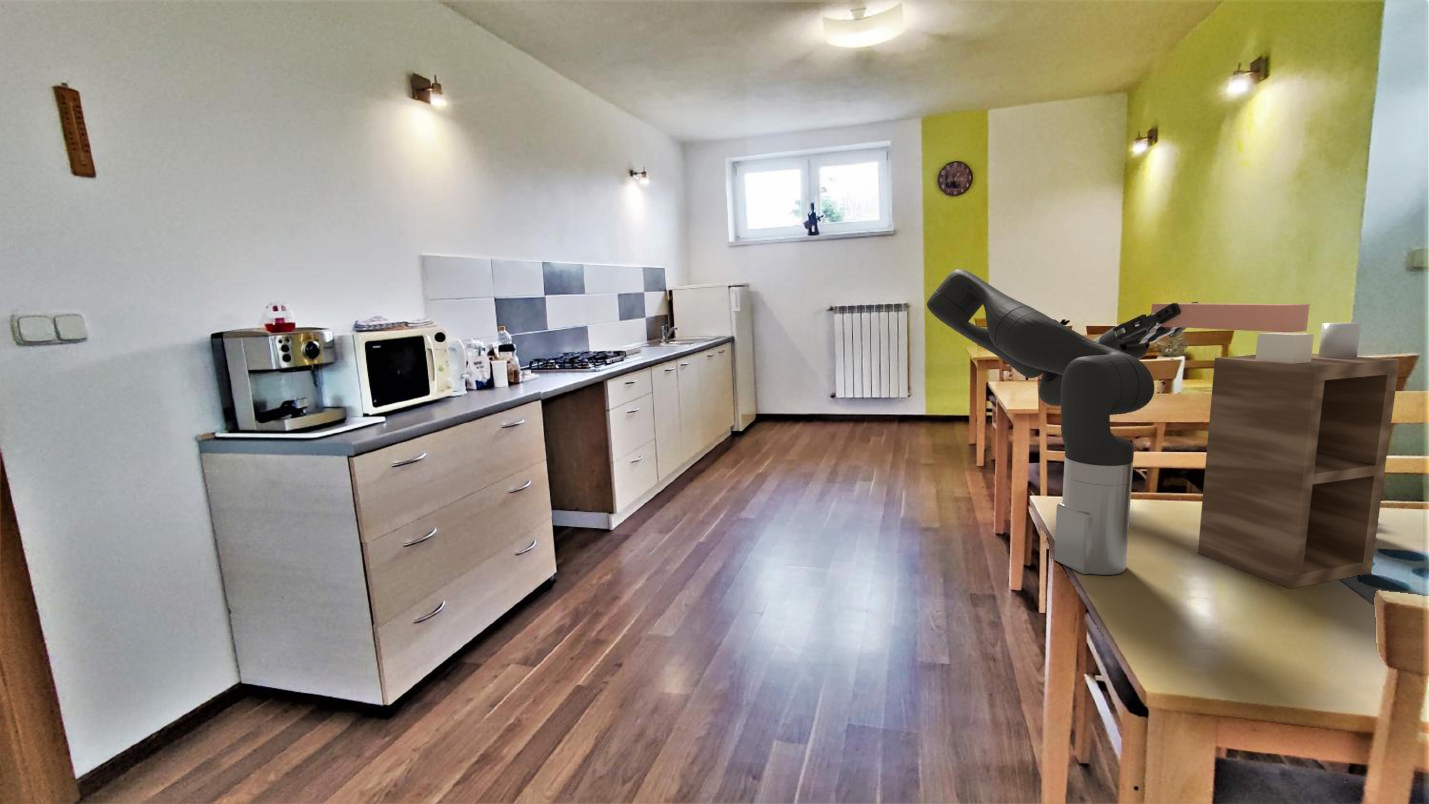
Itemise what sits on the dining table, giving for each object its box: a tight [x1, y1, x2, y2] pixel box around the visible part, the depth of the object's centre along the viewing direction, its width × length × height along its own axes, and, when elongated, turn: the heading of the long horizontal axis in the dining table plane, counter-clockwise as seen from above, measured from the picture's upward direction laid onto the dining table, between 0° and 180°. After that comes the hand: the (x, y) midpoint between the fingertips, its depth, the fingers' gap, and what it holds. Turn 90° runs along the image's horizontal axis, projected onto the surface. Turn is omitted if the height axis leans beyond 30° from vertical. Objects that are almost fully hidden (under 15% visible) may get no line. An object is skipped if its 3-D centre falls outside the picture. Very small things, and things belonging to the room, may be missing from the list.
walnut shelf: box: [1197, 352, 1400, 590], centre depth 102 cm, size 16×14×32 cm
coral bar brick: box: [1150, 302, 1310, 333], centre depth 110 cm, size 4×23×4 cm, turn 15°
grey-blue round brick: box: [1318, 322, 1362, 359], centre depth 99 cm, size 4×4×5 cm
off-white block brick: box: [1255, 332, 1315, 364], centre depth 96 cm, size 4×5×4 cm
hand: (1188, 307), depth 116 cm, fingers closed on coral bar brick, 4 cm apart
